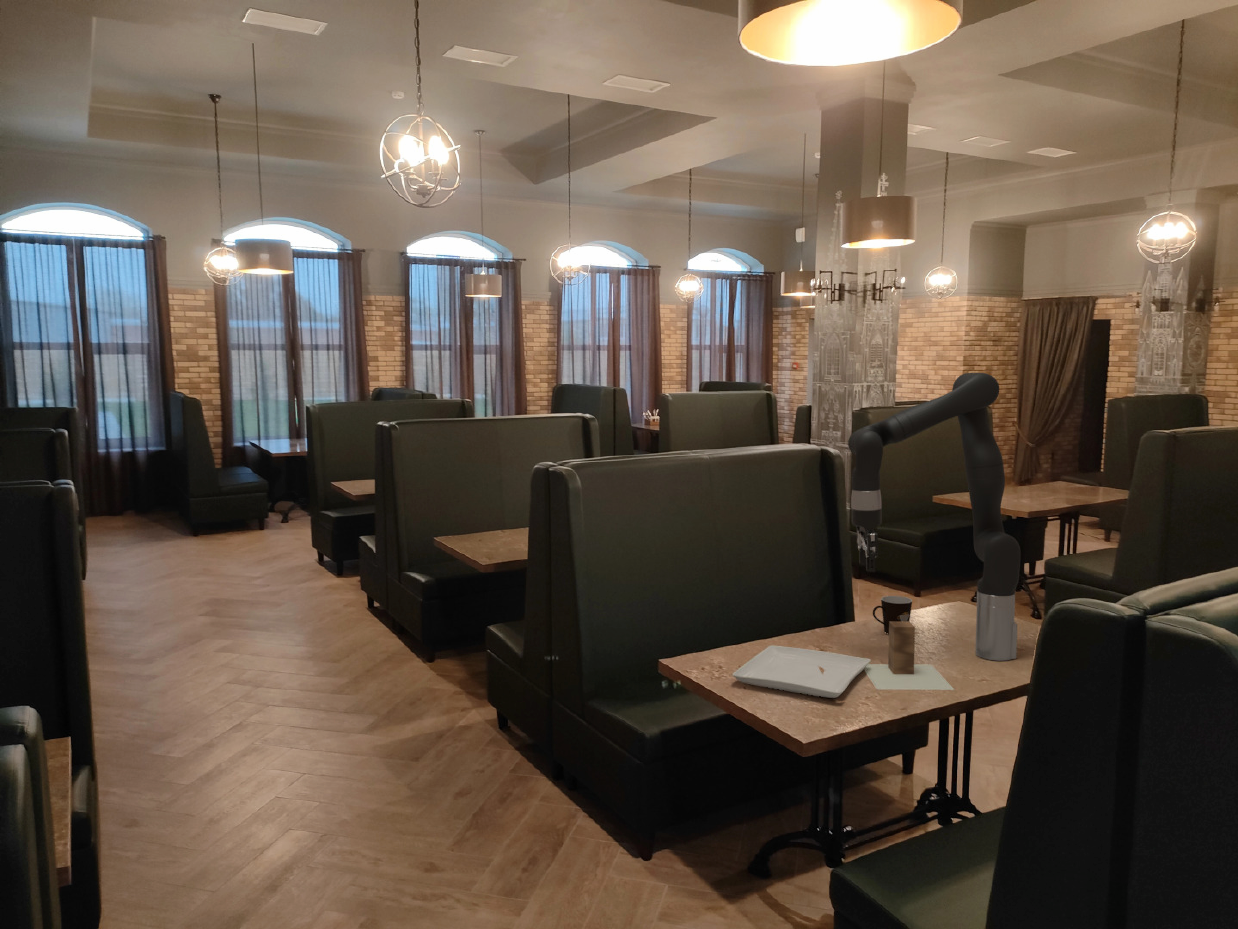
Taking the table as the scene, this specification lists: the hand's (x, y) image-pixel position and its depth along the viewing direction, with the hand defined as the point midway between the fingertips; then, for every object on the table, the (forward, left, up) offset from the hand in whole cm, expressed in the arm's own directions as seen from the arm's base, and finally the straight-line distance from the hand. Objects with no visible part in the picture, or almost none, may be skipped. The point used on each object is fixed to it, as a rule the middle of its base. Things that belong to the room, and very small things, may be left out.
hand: (867, 568), depth 226 cm
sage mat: (-6, +15, -24) cm, 29 cm away
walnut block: (-6, +11, -24) cm, 27 cm away
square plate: (+19, +15, -25) cm, 35 cm away
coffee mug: (-12, -23, -25) cm, 36 cm away
